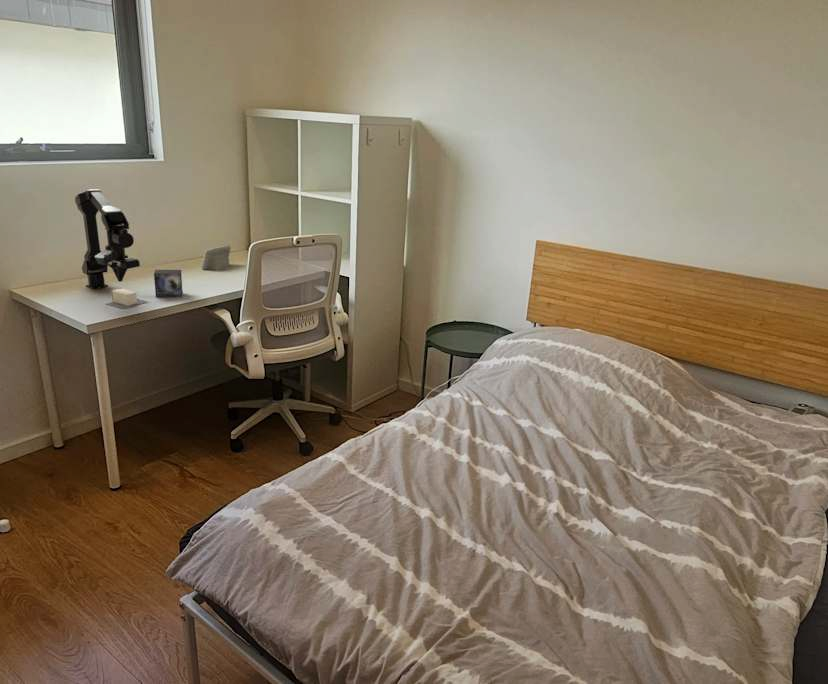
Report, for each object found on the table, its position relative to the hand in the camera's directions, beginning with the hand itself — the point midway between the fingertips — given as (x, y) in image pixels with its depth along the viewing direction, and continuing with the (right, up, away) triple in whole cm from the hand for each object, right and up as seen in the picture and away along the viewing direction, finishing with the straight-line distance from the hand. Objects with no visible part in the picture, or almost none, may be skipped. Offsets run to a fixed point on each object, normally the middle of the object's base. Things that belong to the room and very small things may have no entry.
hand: (120, 281), depth 244 cm
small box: (+14, -5, +15) cm, 21 cm away
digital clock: (+19, +13, +62) cm, 66 cm away
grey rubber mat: (+2, -9, +2) cm, 9 cm away
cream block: (-3, -5, +3) cm, 7 cm away
